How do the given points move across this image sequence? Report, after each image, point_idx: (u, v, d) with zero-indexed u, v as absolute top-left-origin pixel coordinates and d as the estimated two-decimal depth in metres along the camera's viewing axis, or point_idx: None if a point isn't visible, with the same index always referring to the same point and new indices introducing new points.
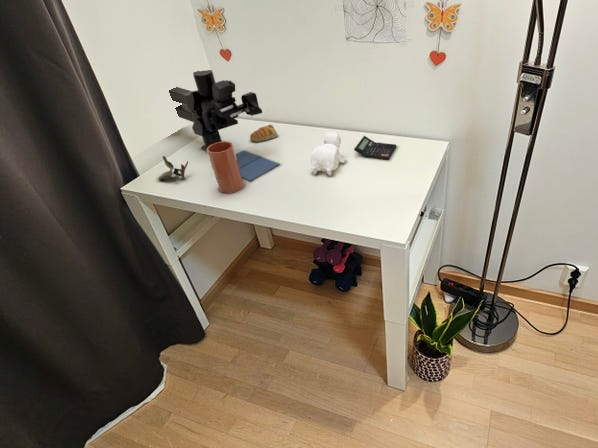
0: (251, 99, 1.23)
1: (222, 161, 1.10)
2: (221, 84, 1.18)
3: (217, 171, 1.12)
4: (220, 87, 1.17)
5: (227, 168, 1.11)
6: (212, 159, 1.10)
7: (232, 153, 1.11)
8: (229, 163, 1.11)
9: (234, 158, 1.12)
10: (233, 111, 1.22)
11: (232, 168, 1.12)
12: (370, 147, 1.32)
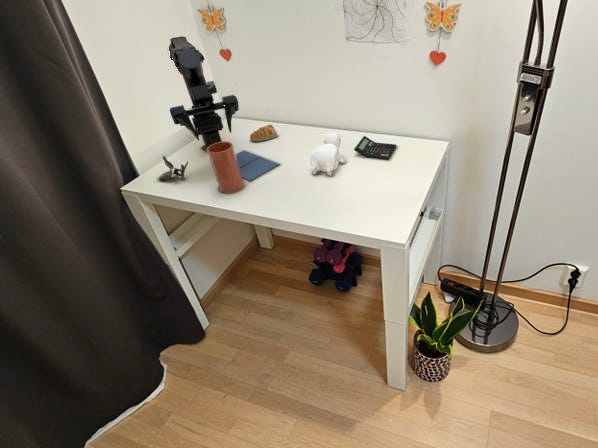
0: (229, 109, 1.16)
1: (222, 161, 1.10)
2: (199, 92, 1.09)
3: (217, 171, 1.12)
4: (197, 96, 1.09)
5: (227, 168, 1.11)
6: (212, 159, 1.10)
7: (232, 153, 1.11)
8: (229, 163, 1.11)
9: (234, 158, 1.12)
10: (206, 111, 1.16)
11: (232, 168, 1.12)
12: (370, 147, 1.32)
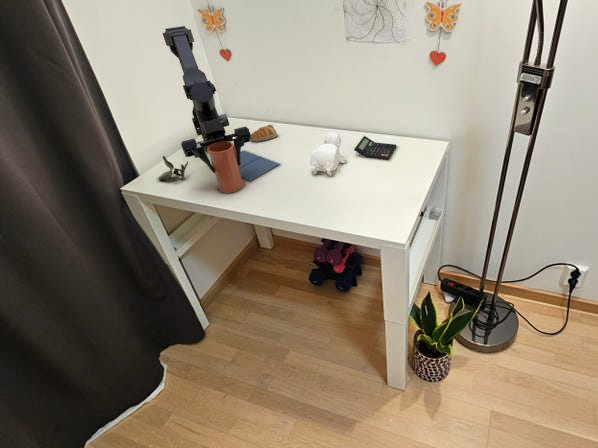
0: (238, 142, 1.14)
1: (222, 161, 1.10)
2: (212, 126, 1.07)
3: (217, 170, 1.12)
4: (209, 130, 1.06)
5: (227, 168, 1.11)
6: (212, 158, 1.10)
7: (233, 153, 1.11)
8: (229, 163, 1.11)
9: (234, 158, 1.12)
10: None
11: (232, 168, 1.12)
12: (370, 147, 1.32)
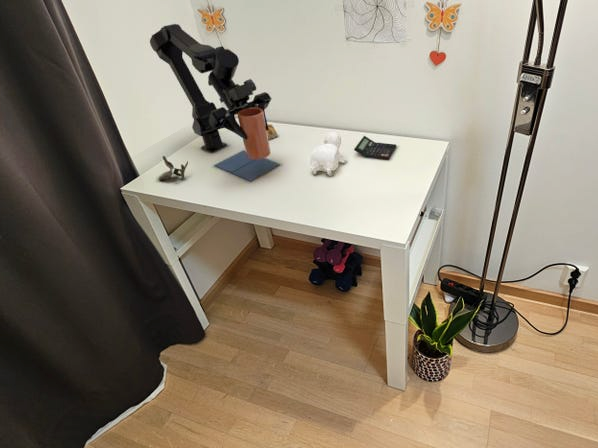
0: (262, 107, 1.16)
1: (257, 125, 1.11)
2: (243, 90, 1.08)
3: (250, 136, 1.13)
4: (242, 95, 1.08)
5: (261, 132, 1.13)
6: (246, 124, 1.10)
7: (263, 117, 1.13)
8: (262, 127, 1.13)
9: None
10: None
11: (264, 132, 1.14)
12: (370, 147, 1.32)
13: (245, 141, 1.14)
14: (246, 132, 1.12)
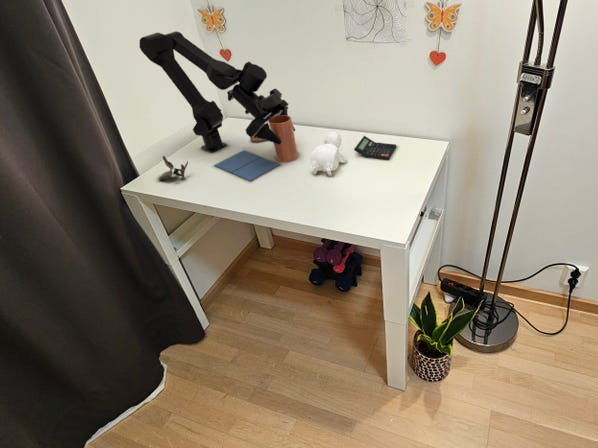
0: (286, 112, 1.29)
1: (290, 129, 1.24)
2: (276, 98, 1.20)
3: (285, 141, 1.25)
4: (276, 102, 1.20)
5: (292, 135, 1.26)
6: (281, 130, 1.23)
7: None
8: (292, 131, 1.26)
9: None
10: None
11: None
12: (370, 147, 1.32)
13: (279, 146, 1.26)
14: (281, 137, 1.24)
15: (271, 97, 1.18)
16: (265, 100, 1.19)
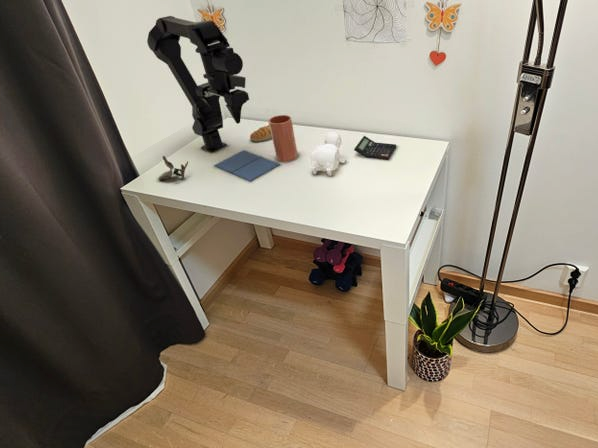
0: None
1: (290, 129, 1.24)
2: None
3: (285, 141, 1.25)
4: None
5: (292, 135, 1.26)
6: (281, 130, 1.23)
7: None
8: (292, 131, 1.26)
9: None
10: None
11: None
12: (370, 147, 1.32)
13: (279, 146, 1.26)
14: (281, 137, 1.24)
15: (245, 78, 1.23)
16: (240, 78, 1.21)
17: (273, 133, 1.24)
